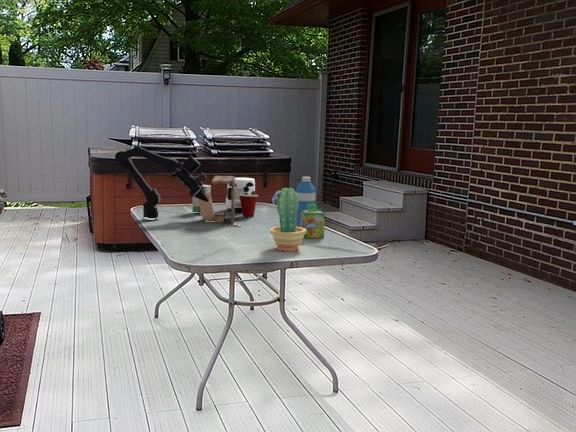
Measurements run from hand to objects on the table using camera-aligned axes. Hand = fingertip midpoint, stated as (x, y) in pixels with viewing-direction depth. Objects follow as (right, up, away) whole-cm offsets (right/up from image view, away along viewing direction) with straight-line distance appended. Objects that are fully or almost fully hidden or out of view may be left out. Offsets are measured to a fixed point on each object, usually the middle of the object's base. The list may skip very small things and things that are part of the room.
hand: (208, 200), depth 300 cm
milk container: (+14, -5, +35) cm, 38 cm away
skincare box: (-7, -7, +23) cm, 25 cm away
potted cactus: (+41, -21, -58) cm, 74 cm away
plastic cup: (+19, -8, +16) cm, 26 cm away
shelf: (+6, -10, +2) cm, 12 cm away
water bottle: (+49, -14, -15) cm, 53 cm away
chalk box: (+52, -17, -33) cm, 64 cm away
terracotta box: (0, -9, +2) cm, 9 cm away
